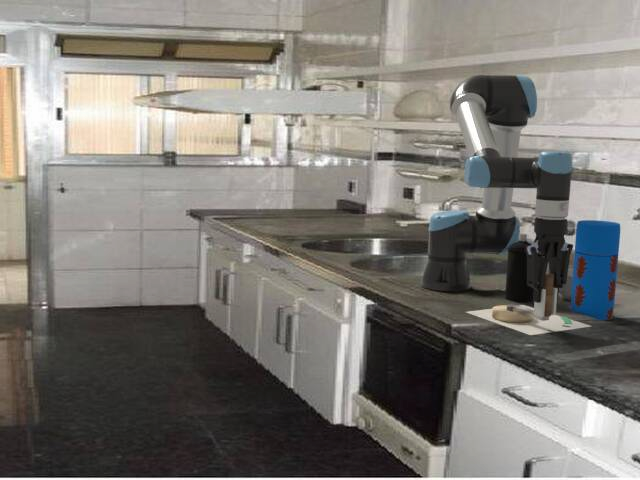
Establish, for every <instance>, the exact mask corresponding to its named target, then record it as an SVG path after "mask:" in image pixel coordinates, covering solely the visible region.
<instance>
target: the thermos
mask: <svg viewBox="0 0 640 480" xmlns="http://www.w3.org/2000/svg"><path fill="white" fill-rule="evenodd" d="M620 238H621V223H619V222H615V221H614V222H613V221H607V220H593V219H591V220H589V219H587V220H586V219H585V220H578V221H577V224H576V231H575V241H574V242H575V244H574V256H573V268H572V269H573V281H572V295H571V300H570V312H572V313H575V314H579V315H582V316H586V317H589V318H592V319H595V320H600V321H603V322H604V321H611V320H612V319H613V317H614V316H613V315H614V308H615V300H616V299H615V298H616V287H617V278H618V277H617V275H618V265H619V263H618V261H619V252H620V250H619V249H620V242H621V240H620Z"/></svg>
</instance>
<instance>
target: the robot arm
mask: <svg viewBox="0 0 640 480" xmlns="http://www.w3.org/2000/svg"><path fill="white" fill-rule="evenodd" d="M537 95H538V94H537V89H536V86H535V83H534V81H533V79H532V78H530V77H528V76H523V75H515V74H514V75H511V74H510V75H509V74H507V75H506V74H502V75H501V74H498V75H497V74H495V75H494V74H488V75H485V74H478V75H473V76H469V77H467V78H466V79H464V80H463V81H461V82H460V83H459V84H458V85H457V86H456V88H455V89H454V90H453V92H452V94H451V97H450V100H449V108H450V112H451V113H450V114H451V115H452V117H453V119H454V120H455V122H457V123H458V125H459V126H458V127H459V128H460V129H459V130H460V133H461V136H462V139H463V142H464V144H465V149H466V152H467V155H468V158H467V159H466V161H465V163H464V170H463V171H464V181H465V184H466V185H467V186H468V187H473V188H480V189H483V193H482V200H481V201H482V202H481V204H480V205H479V206H478V207H476V209H475V215H470V213H469V211H468V210H463V209H461V210H457V209H456V210H446V211H445V210H444V211H440V212H436V213H434V214H432V215H431V216H430V219H429V225H428V228H427V229H428V245H427V246H428V247H427V262H426V265H425V266H424V270H423V272H422V276H421V278H420V286H421V287H422V288H424V289H427V290H431V291H432V290H433V291H439V292H440V291H441V292H463V291H468V290H470V289H471V286H472V285H471V284H472V280H471V277H470V273H469V268H468V265H467V254H477V255H478V254H479V255H480V254H483V255H484V254H485V255H487V254H488V255H497V256H498V255H508V249H507V248H508V247H509V246H510V245H511V244H512V243H515V242H518V241H519V237H520V234H521V230H520V228H521V223H520V219H519V218H518V217H517V216H516V211H515V210H514V209H513V208H512V202H513V194H514V189H535V190H536V196H535V209H534V211H535V212H534V214H535V216H536V217H535V218H534V224H533V226H534V227H533V232H534V233H535V238H534V240H533V243H531V244H532V245H531V246H525V251H526V254H527V285H528V286H531V287H533V288H534V293H533V301H532V302H533V303H534V305H533V308H534V315H537V316H541V317H544V311H545V297H546V290H545V289H543V287H544V282H545V276H546V273H547V270H548V273H551V274H554V282H553V296H552V311H551V315H557V303H558V302H557V301H559V297H560V296H559V295H560V293H559V288H563V284H564V285H565V284H566V282H567V275H568V269H569V267H570V261H571V260H570V259H571V253H572V251H573V249H574V244H572V243H568V242H566V239H565V235H567V233H568V225H569V221H568V219H567V218H568V217H569V208H570V206H569V205H570V196H571V195H570V194H571V182H572V171H573V155H572V154H571V152H568V151H557V150H555V151H554V150H553V151H550V150H547V151H545V150H544V151H541V152H540V153H539V155H538V157H537V156H534V157H519V156H518V155H519V147H520V141H521V133H522V132H521V131H522V130H524V129H525V128H526V127H527V126H528V121H529V119H532V118H534V117H535V116H536V112H537V108H538V96H537ZM561 278H562V279H561Z"/></svg>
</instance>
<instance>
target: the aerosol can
mask: <svg viewBox="0 0 640 480" xmlns="http://www.w3.org/2000/svg"><path fill="white" fill-rule="evenodd" d="M527 236H528V234H527V233H523V232H522V233H521V232H520V235H519V239H518V242H515V243H512V244H511V245H510V246H509V247H508V248H507V249H508V254H507V263H506V264H507V265H506V276H505V277H506V278H505V279H506V281H505V296H504V299H505V300H507V301H510V302H515V303H531V302H534V301H533V293H534V288H533V287H531V286H528V285H527V254H526V251H525V246H531V245H532V244H533V243H531V242H529V241H527Z"/></svg>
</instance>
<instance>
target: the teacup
mask: <svg viewBox="0 0 640 480" xmlns="http://www.w3.org/2000/svg"><path fill="white" fill-rule="evenodd" d="M561 279H562V278H561ZM572 281H573V268H568V275H567V282H566V284H565V285H564V284H563V288H559V295H561V296H562V298H563V299H565V300H567V301H571V295H572Z"/></svg>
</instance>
